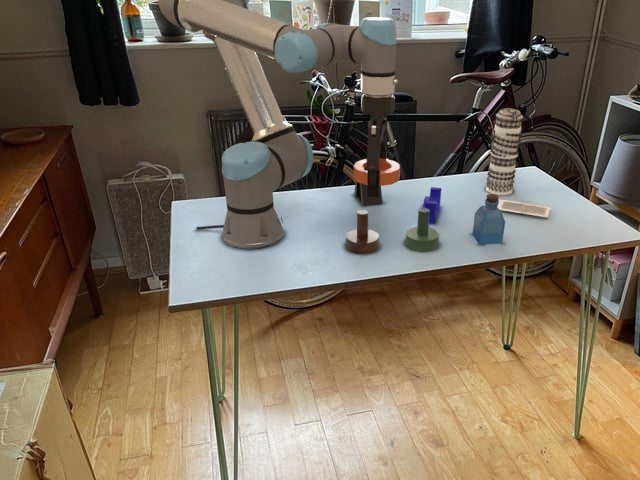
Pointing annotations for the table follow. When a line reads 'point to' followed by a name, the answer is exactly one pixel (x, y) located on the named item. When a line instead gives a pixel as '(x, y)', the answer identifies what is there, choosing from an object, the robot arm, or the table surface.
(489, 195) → the perfume bottle
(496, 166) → the decorative candle
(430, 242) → the sage peg
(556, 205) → the table surface
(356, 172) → the ring
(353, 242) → the walnut peg
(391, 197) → the table surface
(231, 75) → the robot arm
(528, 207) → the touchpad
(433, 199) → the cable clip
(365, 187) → the phone stand
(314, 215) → the table surface
